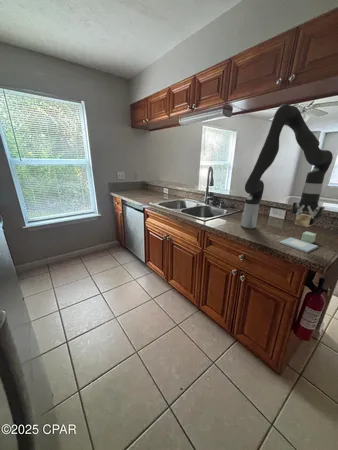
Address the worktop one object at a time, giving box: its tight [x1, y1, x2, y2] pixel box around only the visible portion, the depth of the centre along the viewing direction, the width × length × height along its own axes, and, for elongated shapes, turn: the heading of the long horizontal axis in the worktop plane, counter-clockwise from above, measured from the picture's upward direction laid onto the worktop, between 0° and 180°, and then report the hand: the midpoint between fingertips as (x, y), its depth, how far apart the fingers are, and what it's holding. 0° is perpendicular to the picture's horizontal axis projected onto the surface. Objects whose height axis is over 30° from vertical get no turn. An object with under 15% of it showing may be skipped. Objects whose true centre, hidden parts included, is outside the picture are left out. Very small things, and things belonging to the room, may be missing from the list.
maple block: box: [294, 213, 313, 228], centre depth 99 cm, size 6×6×5 cm
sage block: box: [300, 230, 317, 244], centre depth 109 cm, size 5×5×5 cm
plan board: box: [279, 236, 319, 253], centre depth 104 cm, size 14×12×1 cm
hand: (303, 223), depth 100 cm, fingers closed on maple block, 6 cm apart
